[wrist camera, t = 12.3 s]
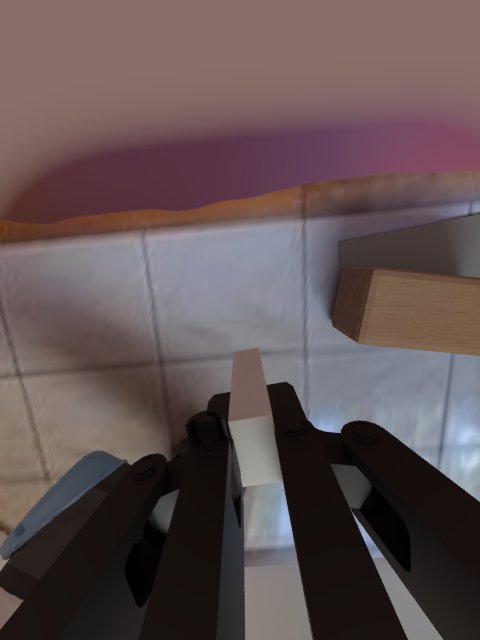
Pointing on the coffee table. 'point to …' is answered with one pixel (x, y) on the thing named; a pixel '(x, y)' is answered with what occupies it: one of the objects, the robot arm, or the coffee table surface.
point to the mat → (420, 248)
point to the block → (409, 309)
